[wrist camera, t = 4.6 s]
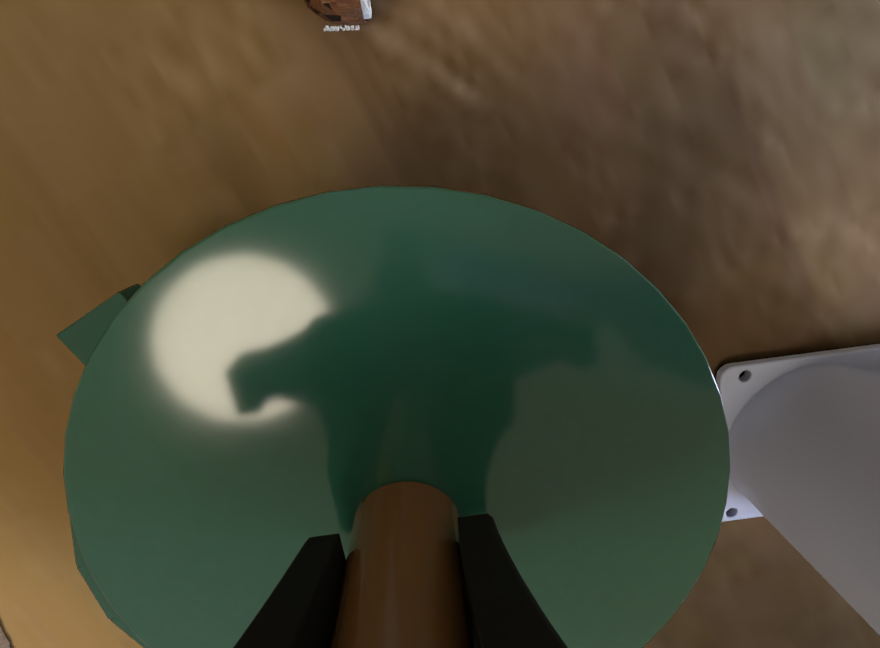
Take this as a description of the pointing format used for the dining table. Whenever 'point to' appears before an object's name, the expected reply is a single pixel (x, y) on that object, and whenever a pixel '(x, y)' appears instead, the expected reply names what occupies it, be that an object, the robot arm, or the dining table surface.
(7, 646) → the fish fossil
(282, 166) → the dining table surface
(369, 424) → the pot lid
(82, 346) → the pot
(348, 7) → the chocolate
